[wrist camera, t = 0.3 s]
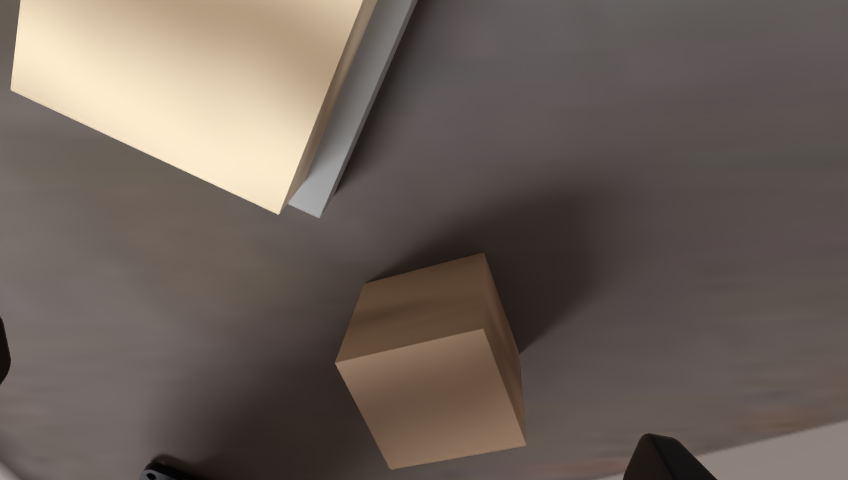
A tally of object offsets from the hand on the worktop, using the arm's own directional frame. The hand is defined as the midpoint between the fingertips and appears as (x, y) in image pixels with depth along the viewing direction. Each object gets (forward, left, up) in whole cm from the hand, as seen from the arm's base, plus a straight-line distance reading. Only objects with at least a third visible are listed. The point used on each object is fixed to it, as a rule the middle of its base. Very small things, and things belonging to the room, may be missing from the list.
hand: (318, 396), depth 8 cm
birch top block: (+1, +7, -11) cm, 13 cm away
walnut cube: (-7, -4, -13) cm, 16 cm away
